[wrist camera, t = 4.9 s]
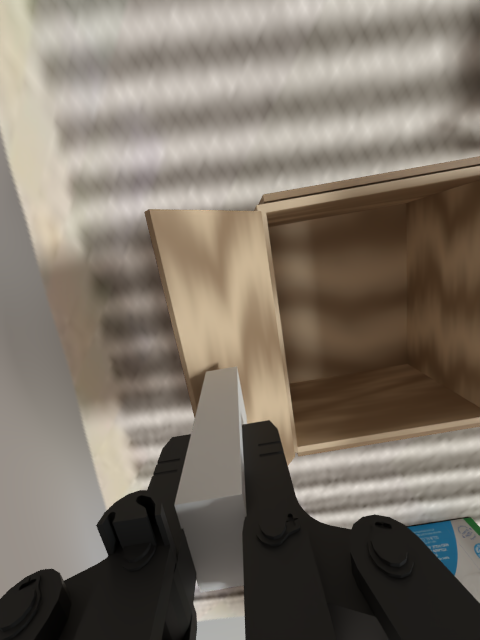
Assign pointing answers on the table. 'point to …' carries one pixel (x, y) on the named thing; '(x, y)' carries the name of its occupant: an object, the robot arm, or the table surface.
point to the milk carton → (455, 549)
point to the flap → (223, 306)
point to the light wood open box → (378, 304)
